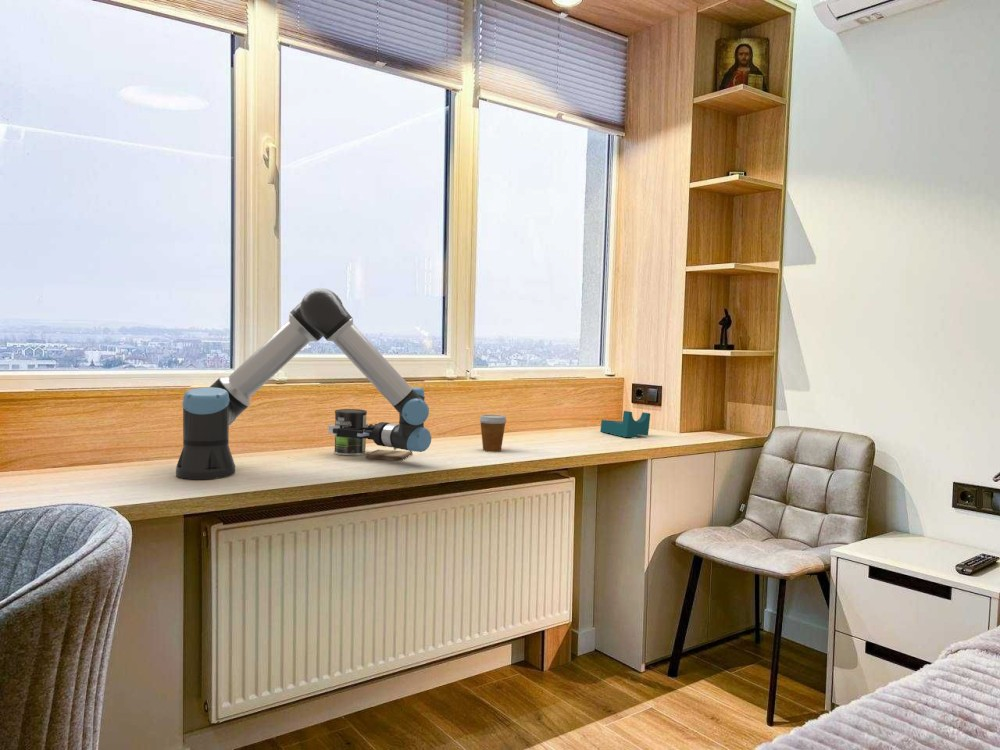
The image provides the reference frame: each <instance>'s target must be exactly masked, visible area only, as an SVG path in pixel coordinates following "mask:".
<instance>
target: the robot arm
mask: <svg viewBox="0 0 1000 750" xmlns="http://www.w3.org/2000/svg"><path fill="white" fill-rule="evenodd" d="M322 338H324V339H325V341H326V342H333V343H334V345H335V346H336V347H337V348H339V350H340V351H341V352H342V353H343V354H344V355H345V356H346V357H347V358H348V359H349V361H351V363H352V364H353V365H354V366H355V368H357V369H358V370H359V371H360V372H361V373H362V375H364V378H366V379H367V380H368V381H369V382H370V383H371V384H372V385H373V387H375V388H376V390H377V391H378V392H379V393H380V394H381V395H382V396H383V397H384V399H386V400H387V401H388V403H390V404H391V406H392V407H393V408H394V409H395V410H396V411H397V413H398V414H399V418H398V419H399V421H398V423H392V422H385V421H384V422H383V421H381V422H378V423H375V424H373V423H371V424H368V423H366V427H362V428H360V429H357V428H343V427H342V425H341V426H335V424H334V425H332V424H329V425H328V427H327V428H328V429H327V430H328V434H329V435H334V436H335V435H337V437H348V438H357V439H363V438H365V439H366V440H370V441H371V440H373V442H374V444H375V445H377V446H379V447H385V448H393V450H394V451H397V450H398V449H399V450H402V451H411V452H412V453H413V452H417V453H419V452H420V453H421V452H422V453H423V452H425V451H427V450H428V449H429V447H430V445H431V444H432V435H431V431H430V430H429V429H428V428H426V427H425V422H426V421H427V419H428V417H429V415H430V408H429V406H428V404H427V402H426V401H425V398H426V396H425V390H424V388H422V387H420V386H419V387H417V386H416V387H415V386H410V385H411V384H409V383H408V381H406V379H404V378H403V377H402V376H401V375H400V373H399V372H398V371H397V370H396V368H394V367H393V366H392V364H391V363H389V361H388V360H387V359H386V358H385V357H384V356H383V355H382V353H380V351H379V350H378V349H377V348H376V347H375V346H374V345H373V344H372V343H371V341H369V339H368V338H367V337H366V336H365V335H364V334H363V333H362V332H361V330H359V328H358V327H357V326H356V325H355V324H354V318H353V317H352V315H351V314H350V313H349V312H348V310H347V309H346V308H345V307H344V305H343V302H342V299H340V297H339V296H338V295H337V294H336V293H335V292H333V291H332V290H331V289H328V288H321V287H319V288H315V289H314V288H313V289H311V290H310V291H308V292H306V294H305V295H304V296H303V298H302V299H301V302H300V303H298V304H297V305H296V306H295V307H294V308H293V309H292V310H291V311H290V312H289V317H288V321H287V322H286V323H285V324H283V326H281V327H280V328H279V329H278V330H276V332H275V333H273V335H272V336H271V337H269V338H268V339H267V340H266V341H265V342H264V343H262V345H261V346H260V347H259V348H258V349H257V350H256V351H255V352H253V353H252V354H251V355H250V356H249V357H248V358H247V359H246V360H245V361H243V363H241V365H239V366H238V367H237V368H236V369H235V370H234V371H233V372H231V374H230V375H229V376H219V378H218V379H216V380H215V382H213V383H212V384H211V385H210V386H207V387H205V386H204V387H197V388H190V389H188V390H186V392H185V393H184V394H183V399H182V423H183V424H182V449H181V453H180V456H179V457H178V461H177V464H176V468H175V476H176V477H177V478H179V479H180V478H181V479H186V480H211V479H213V480H214V479H223V478H226V477H231V476H233V475H235V474H236V464H235V461H234V458H233V455H232V452H231V449H230V445H229V444H230V443H229V442H230V441H229V439H230V437H229V435H230V433H229V431H230V429H229V428H230V427H229V426H230V425H232V424H233V423H234V422H235V421H236V419H237V418H238V417H239V416H240V415H241V414H242V413H243V412H245V410H246V409H247V408H248V407H250V405H251V397H252V396H254V394H255V393H256V392H258V391H259V390H260V389H261V388H262V387H263V386H264V385H265V384H266V383H268V382H269V380H271V379H272V377H274V376H275V375H276V374H277V373H278V372H279V371H280V370H281V369H283V367H284V366H285V365H287V363H289V362H290V361H291V360H292V359H294V357H295V356H296V355H297V354H298V353H300V352H301V350H303V349H304V348H305V347H306V346H307V345H308V344H309V343H310V342H319V341H320V340H322ZM363 429H365V430H364V433H363Z"/></svg>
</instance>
